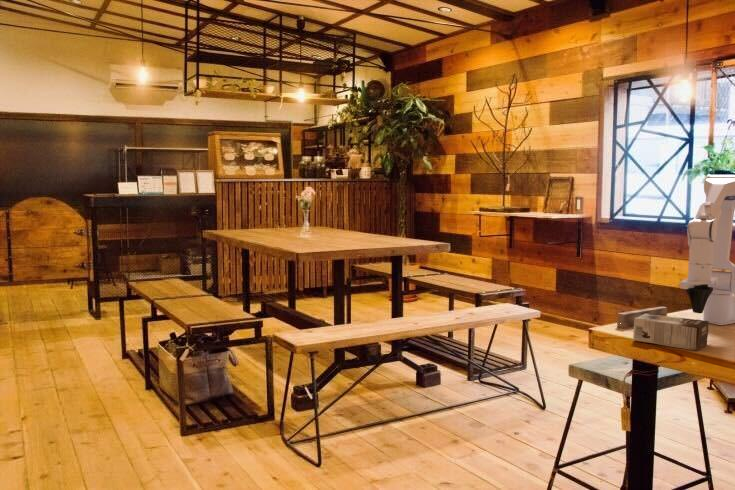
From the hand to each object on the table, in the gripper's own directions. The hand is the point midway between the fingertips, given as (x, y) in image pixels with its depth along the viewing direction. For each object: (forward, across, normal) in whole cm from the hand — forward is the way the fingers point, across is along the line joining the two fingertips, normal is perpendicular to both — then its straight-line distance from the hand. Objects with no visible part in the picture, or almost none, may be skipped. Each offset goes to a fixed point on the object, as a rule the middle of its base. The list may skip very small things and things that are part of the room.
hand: (697, 312), depth 183 cm
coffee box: (+3, -16, +6) cm, 18 cm away
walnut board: (+6, 0, +17) cm, 18 cm away
